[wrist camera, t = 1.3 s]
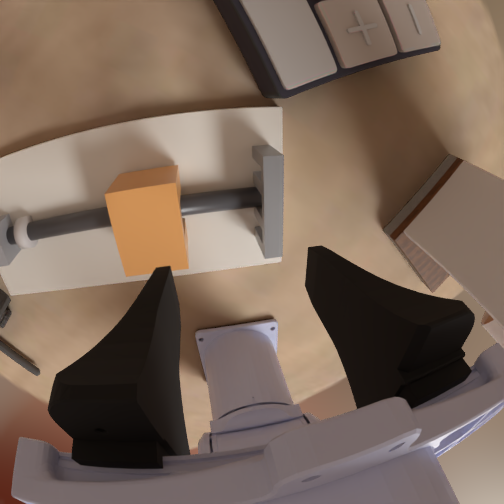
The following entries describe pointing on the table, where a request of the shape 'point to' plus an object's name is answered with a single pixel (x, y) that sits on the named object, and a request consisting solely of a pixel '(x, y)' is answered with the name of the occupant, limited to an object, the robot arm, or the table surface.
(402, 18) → the calculator
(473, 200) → the white box tower
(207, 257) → the board
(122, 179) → the orange block
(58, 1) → the table surface
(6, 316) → the walkie-talkie
